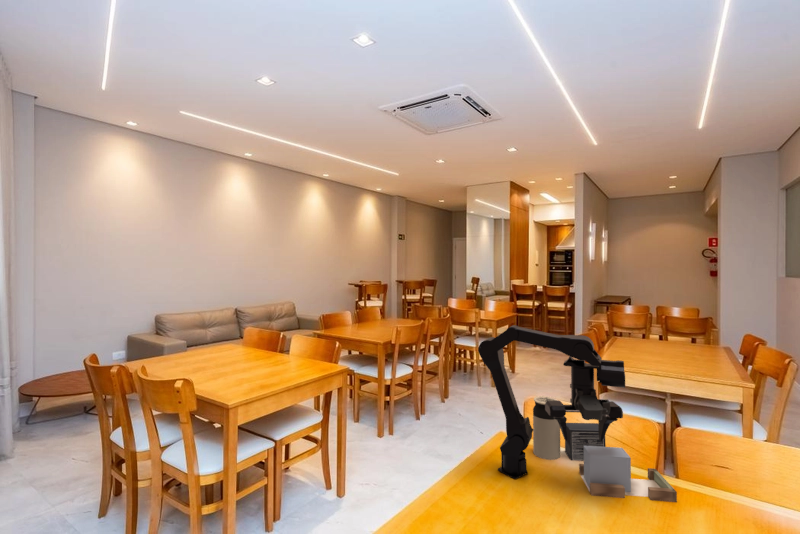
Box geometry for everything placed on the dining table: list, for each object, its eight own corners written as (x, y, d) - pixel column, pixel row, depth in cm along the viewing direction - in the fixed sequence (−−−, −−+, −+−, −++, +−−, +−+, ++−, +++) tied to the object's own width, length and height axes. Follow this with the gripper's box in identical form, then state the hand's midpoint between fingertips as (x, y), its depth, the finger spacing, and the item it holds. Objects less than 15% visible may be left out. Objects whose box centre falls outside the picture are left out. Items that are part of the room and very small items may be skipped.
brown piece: (597, 510, 102) (597, 496, 102) (574, 467, 123) (574, 455, 123) (687, 518, 98) (687, 503, 98) (647, 472, 120) (647, 460, 120)
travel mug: (557, 465, 125) (556, 405, 125) (530, 458, 129) (529, 401, 129) (562, 455, 132) (562, 398, 132) (537, 449, 136) (536, 394, 136)
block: (590, 489, 110) (589, 455, 110) (583, 477, 116) (583, 445, 116) (630, 492, 108) (630, 457, 108) (622, 480, 114) (622, 447, 114)
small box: (598, 455, 131) (598, 422, 131) (606, 465, 125) (606, 430, 125) (564, 454, 132) (563, 421, 132) (570, 463, 126) (570, 429, 126)
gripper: (555, 391, 106) (556, 453, 106) (632, 392, 104) (633, 455, 104) (544, 379, 117) (544, 435, 117) (613, 380, 115) (614, 436, 115)
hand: (583, 440), depth 113 cm, fingers open, 9 cm apart
